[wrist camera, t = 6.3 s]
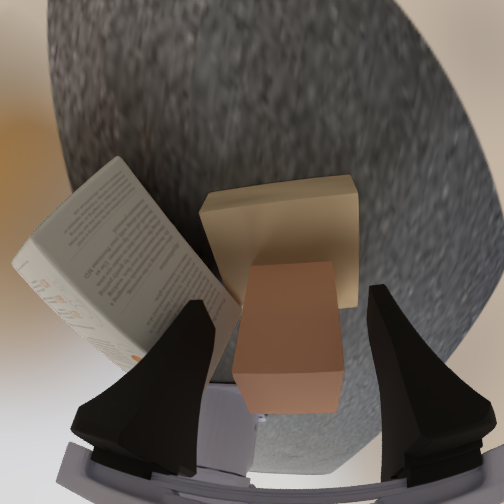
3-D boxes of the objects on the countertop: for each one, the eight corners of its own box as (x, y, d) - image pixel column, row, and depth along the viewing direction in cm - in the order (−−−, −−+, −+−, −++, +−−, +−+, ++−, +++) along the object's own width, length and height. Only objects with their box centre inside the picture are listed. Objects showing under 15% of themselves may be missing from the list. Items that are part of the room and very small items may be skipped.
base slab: (352, 282, 17) (357, 306, 16) (240, 292, 19) (236, 316, 17) (350, 174, 13) (358, 192, 12) (208, 192, 15) (198, 212, 13)
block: (331, 315, 16) (336, 412, 12) (261, 318, 17) (250, 413, 13) (332, 260, 14) (344, 370, 9) (250, 266, 15) (231, 373, 10)
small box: (65, 202, 16) (162, 310, 21) (7, 263, 13) (125, 373, 18) (123, 150, 11) (247, 309, 17) (28, 237, 8) (205, 398, 13)
